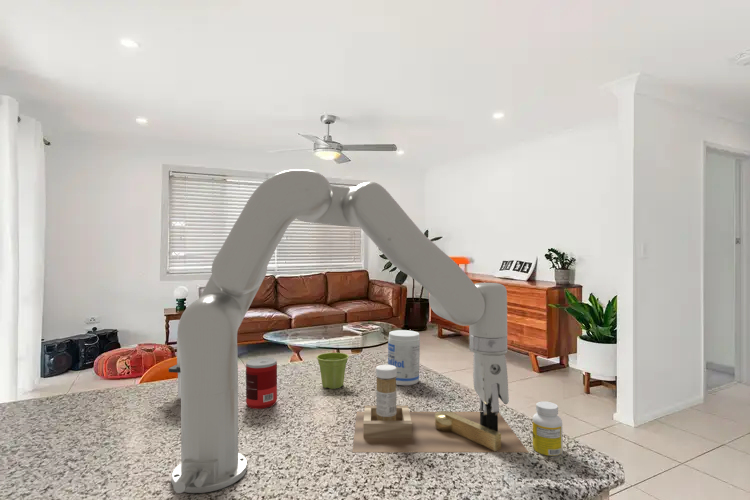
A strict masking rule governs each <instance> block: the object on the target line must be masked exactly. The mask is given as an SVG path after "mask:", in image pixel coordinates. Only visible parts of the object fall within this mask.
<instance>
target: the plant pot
mask: <svg viewBox="0 0 750 500" xmlns="http://www.w3.org/2000/svg"><path fill="white" fill-rule="evenodd" d="M315 358H316V359H317V362H318V365H319V371H320V377H321V384H322V385H321V386H322V388H325V389H327V388H328V389H331V390H334V389H340V388H342V387H343V386H344V382H345V381H344V380H345V375H346V366H347V362H348V359H349V358H350V356H349V354H347V353H342V352H325V353H320V354H318V355H316V357H315Z"/></svg>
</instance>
